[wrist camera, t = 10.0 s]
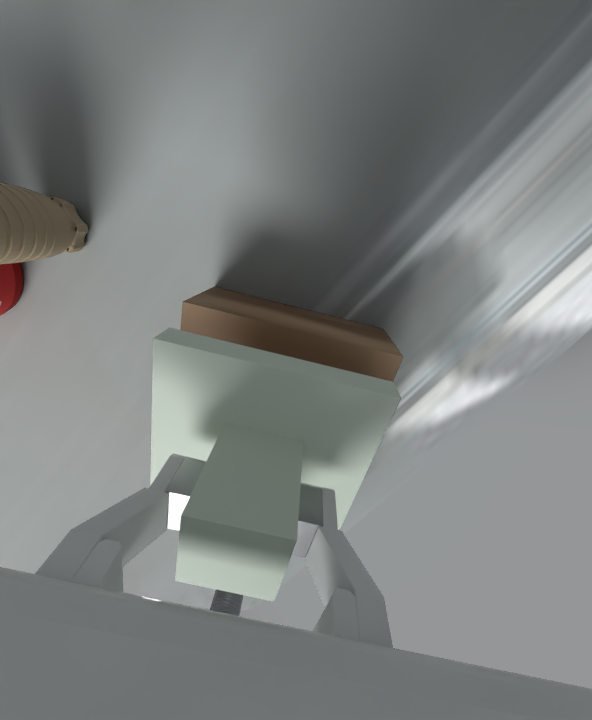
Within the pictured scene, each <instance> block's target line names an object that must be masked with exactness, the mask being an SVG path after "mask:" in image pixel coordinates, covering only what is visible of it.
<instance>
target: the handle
mask: <svg viewBox="0 0 592 720" xmlns="http://www.w3.org/2000/svg"><path fill="white" fill-rule="evenodd" d="M86 233H88V227H87V224H86V223H84V222H83V221H82V219H81V218H80V217H79V215H78V214H77V212H76V208H75V207H74V205H73V204H71V203H70V202H68V201H66V200H64V199H61V198H58V197H54V196H50V197H49V198H48V197H47V196H45V195H43V194H40V193H37V192H34V191H31V190H28V189H25V188H21V187H18V186H13V185H10V184H5V183H0V264H10V263H19V262H25V261H32V260H38V259H43V258H48V257H52V256H55V255H58V254H60V253H62V252H64V251H66V252H69V253H71V252H76V251H79V250H81V249H83V247H84V246H85V244H84V238H85V235H86Z"/></svg>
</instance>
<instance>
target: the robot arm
mask: <svg viewBox="0 0 592 720" xmlns="http://www.w3.org/2000/svg"><path fill="white" fill-rule="evenodd" d="M205 463H206V461H203V460H199V459H195V458H191V457H187V456H182V455H178V454H174V453H173V454H172V455H171V456H170V457H169V458H168V460H167V461H166V463H165V464H164V466H163V467H162V469H161V470H160V472H159V474H158V475H157V477H156V478H155V480H154V481H153V483H152V484H151V486H150V487H149V488H143V489H142V490H140V491H138V492H136V493H135V494H133V495H131V496H129V497H128V498H126V499H124V500H122V501H121V502H119V503H117V504H115V505H114V506H112V507H110V508H108V509H107V510H105V511H103V512H101V513H100V514H98V515H96V516H94V517H93V518H91V519H89V520H87V521H86V522H84V523H82V524H80V525H79V526H77V527H75V528H73V529H72V530H71V531H70V532H69V533H68V534H67V535H66V537H65V538H64V539H63V540H62V541H61V543H60V544H59V545H58V546H57V548H56V549H55V550H54V551H53V552H52V554H51V555H50V556H49V557H48V559H47V560H46V561H45V562H44V563H43V565H42V566H41V567H40V568H39V570H38V571H37V572H36V573H35V574H32V573H27V572H22V571H17V570H12V569H8V568H3V567H0V720H592V689H590V688H585V687H580V686H575V685H570V684H565V683H561V682H555V681H550V680H546V679H541V678H536V677H531V676H526V675H521V674H517V673H512V672H507V671H502V670H497V669H493V668H488V667H483V666H478V665H473V664H468V663H463V662H459V661H454V660H448V659H444V658H439V657H434V656H429V655H424V654H419V653H415V652H410V651H405V650H400V649H395V648H393V645H392V640H391V635H390V629H389V623H388V618H387V612H386V606H385V601H384V597H383V595H382V594H381V592H380V590H379V589H378V587H377V586H376V584H375V582H374V581H373V579H372V578H371V576H370V575H369V573H368V571H367V570H366V568H365V567H364V565H363V564H362V562H361V560H360V559H359V557H358V556H357V554H356V553H355V551H354V549H353V548H352V546H351V545H350V543H349V542H348V540H347V539H346V537H345V536H344V534H343V532H342V531H339V530H338V524H337V510H336V496H335V491H334V490H333V489H328V488H324V487H320V486H315V485H310V484H306V483H301V487H300V502H299V517H298V533H297V542H296V544H295V547H294V550H293V552H292V555H295V556H299V557H303V558H305V561H306V563H307V565H308V568H309V570H310V573H311V575H312V578H313V580H314V583H315V585H316V587H317V590H318V592H319V595H320V597H321V600H322V602H323V605H324V607H325V610H324V611H323V613H322V615H321V618H320V619H319V621H318V623H317V624H316V626H315V628H314V630H313V631H308V630H303V629H298V628H293V627H289V626H284V625H279V624H274V623H270V622H264V621H260V620H255V619H250V618H245V617H241V616H236V615H231V614H226V613H221V612H216V611H212V610H207V609H202V608H197V607H192V606H187V605H182V604H178V603H173V602H168V601H163V600H158V599H153V598H148V597H144V596H139V595H134V594H129V593H124V592H123V573H122V567H123V566H124V565H125V564H127V563H128V562H129V561H130V560H131V559H133V558H134V557H135V556H136V555H137V554H138V553H140V552H141V551H142V550H143V549H144V548H146V547H147V546H148V545H149V544H150V543H152V542H153V541H154V540H155V539H156V538H157V537H159V536H160V535H161V534H162V533H163V532H165V531H166V530H167V528H169V529H174V530H179V531H180V521H181V514H182V512H183V510H184V508H185V506H186V504H187V501H188V499H189V497H190V495H191V493H192V491H193V489H194V487H195V485H196V482H197V480H198V478H199V476H200V474H201V472H202V470H203V468H204V466H205Z"/></svg>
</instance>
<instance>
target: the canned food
mask: <svg viewBox="0 0 592 720" xmlns="http://www.w3.org/2000/svg"><path fill="white" fill-rule="evenodd" d="M22 288H23V275H22V269H21V265H20V262H19V263H10V264H0V315H2V314H4V313H5V312H7V311H8V310H10V309H11V308H12V307H13V306H15V304H16V303H17V302H18V300H19V298H20V296H21V293H22Z"/></svg>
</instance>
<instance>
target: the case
mask: <svg viewBox="0 0 592 720" xmlns="http://www.w3.org/2000/svg"><path fill="white" fill-rule="evenodd" d="M181 331H185V332H190V333H194V334H198V335H202V336H206V337H210V338H214V339H218V340H223V341H227V342H231V343H235V344H239V345H243V346H247V347H251V348H256V349H260V350H264V351H268V352H272V353H276V354H280V355H284V356H289V357H293V358H297V359H301V360H305V361H309V362H313V363H318V364H322V365H326V366H330V367H334V368H338V369H342V370H346V371H351V372H355V373H359V374H363V375H367V376H371V377H375V378H379V379H384V380H388V381H392V382H393V380H394V377H395V375H396V373H397V370H398V368H399V366H400V363H401V361H402V359H403V356H402V354H401V353H400V351H399V350H398V349H397V347H396V346H395V344H394V343H393V342H392V340H391V339H390V337H389V336H388V335H387V333H386V332H385V331H384V329H381V328H377V327H373V326H369V325H365V324H361V323H357V322H353V321H349V320H345V319H341V318H337V317H333V316H329V315H325V314H321V313H317V312H313V311H309V310H305V309H301V308H297V307H293V306H289V305H285V304H281V303H277V302H273V301H269V300H265V299H261V298H257V297H253V296H249V295H245V294H241V293H237V292H234V291H230V290H226V289H222V288H218V287H213V288H211V289H209V290H206V291H204V292H202V293H200V294H198V295H196V296H194V297H192V298H189V299H187V300H185V301H183V304H182V318H181Z"/></svg>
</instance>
